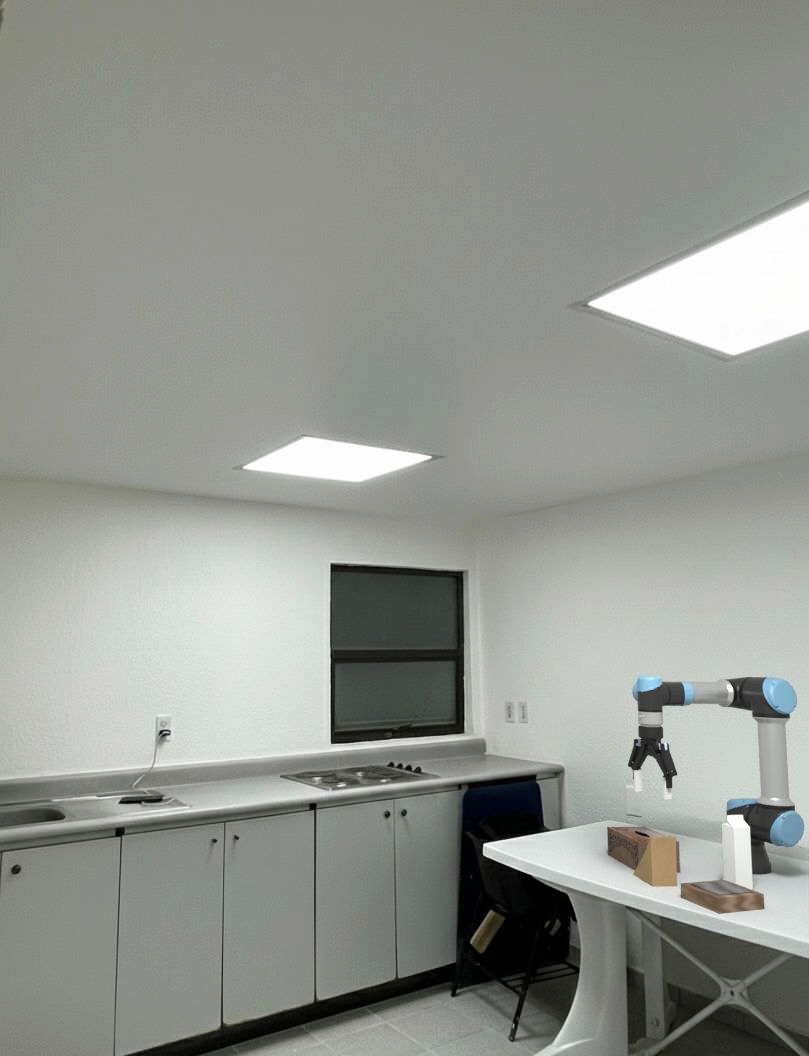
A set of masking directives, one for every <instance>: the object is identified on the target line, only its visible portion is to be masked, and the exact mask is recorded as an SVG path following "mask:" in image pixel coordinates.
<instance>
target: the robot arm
mask: <svg viewBox="0 0 809 1056" xmlns="http://www.w3.org/2000/svg"><path fill="white" fill-rule="evenodd" d="M632 697H633V699H634V700H635V701H636V702H637V723H638V727H637V729H638V730H637V731H638V738H634V739H633V747H632V750H631V754H630V756H629V760H628V763H627V766H628V767H629V768H631V770H632V780H633V792H636V793H639V792H643V769H642V766H643V765H644V762H645V761H646V759H647V758H648V756H649V757H652V758H653V759H655V760H656V763H657V765H658V766H659V768H660V770H661V772H662V774H663V776H662V778H661V779H662V800H665V801H666V800H672V799H673V796H672V795H673V793H672V790H673V789H672V788H673V777H677V776H678V772H677V769H676V766H675V762H674V760H673V758H672V754H671V751H670V744H669V743H668V742H666V743H665V742H664V743H663V742H662V739H663V738H664V727H663V724H664V714H663V711H664V710H663V707H668V706H669V707H673V706H674V707H684V706H690V705H694V704H695V705H719V706H720V707H721V708H733V709H739V710H744V711H748V712H751V715H752V719H753V720H755V721H756V724H757V739H758V757H759V759H758V760H759V763H758V764H759V779H760V780H759V781H760V782H759V783H760V795H759V798H744V797H743V798H730V799H728V800H727V802H726V810H725V812H726V816H727V815H743V820H744V821H745V822H746V823H747V824H748V825H749V827H750V839H751V860H752V875H753V874H754V875H763V874H769V873H772V871H773V870H772V862H771V861H770V857H769V855H768V852H767V849H766V844H765V843H768V844H771V845H774V846H776V847H784V848H792V847H794V846H796V845H797V844H798V843H799V841H801V840H802V838H803V836H804V831H805V821H804V819H803V817H802V816H801V814H800V813H798V812H797V811H796V804H795V802H794V801H793V800H792V799H791V798H790V788H789V787H790V785H789V784H790V783H789V768H788V750H787V749H788V748H787V731H786V730H787V729H786V728H787V727H786V723H788V722H789V721H790V720H791V713H793V712H794V711H795V708H796V707H797V705H798V696H797V693H796V690H795V689H794V687H793V685H791V683H790V682H789V681H788V680H786V679H784V678H780V677H779V678H778V677H775V676H773V677H772V676H770V677H767V676H765V677H764V676H763V677H759V676H743V677H737V678H736V677H735V678H725V679H724V678H721V679H718V680H717V681H682V680H681V681H677V680H676V681H674V680H673V681H672V680H670V681H669V680H662V677H661V676H660V675H640V676H638V677H637V682H635V683H634V685H633V686H632Z"/></svg>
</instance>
